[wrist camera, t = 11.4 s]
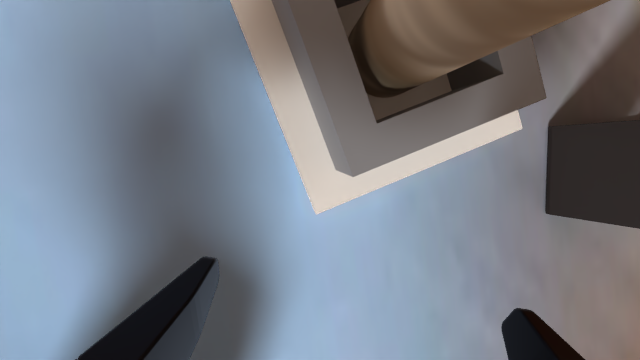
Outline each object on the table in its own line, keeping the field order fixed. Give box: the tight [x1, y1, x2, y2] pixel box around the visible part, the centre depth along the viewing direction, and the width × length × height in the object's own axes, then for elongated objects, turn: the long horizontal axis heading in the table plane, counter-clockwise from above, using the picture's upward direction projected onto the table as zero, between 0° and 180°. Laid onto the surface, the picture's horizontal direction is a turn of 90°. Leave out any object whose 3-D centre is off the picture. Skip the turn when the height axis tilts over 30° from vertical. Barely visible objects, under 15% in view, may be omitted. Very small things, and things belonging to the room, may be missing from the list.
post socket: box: [230, 0, 546, 214], centre depth 15 cm, size 14×14×5 cm
